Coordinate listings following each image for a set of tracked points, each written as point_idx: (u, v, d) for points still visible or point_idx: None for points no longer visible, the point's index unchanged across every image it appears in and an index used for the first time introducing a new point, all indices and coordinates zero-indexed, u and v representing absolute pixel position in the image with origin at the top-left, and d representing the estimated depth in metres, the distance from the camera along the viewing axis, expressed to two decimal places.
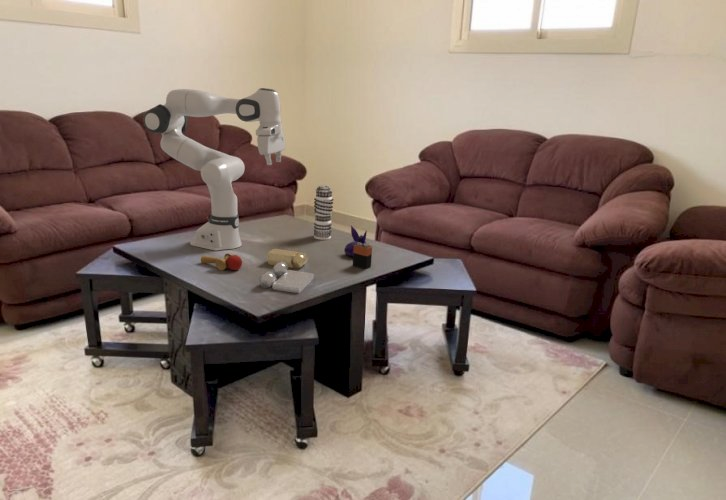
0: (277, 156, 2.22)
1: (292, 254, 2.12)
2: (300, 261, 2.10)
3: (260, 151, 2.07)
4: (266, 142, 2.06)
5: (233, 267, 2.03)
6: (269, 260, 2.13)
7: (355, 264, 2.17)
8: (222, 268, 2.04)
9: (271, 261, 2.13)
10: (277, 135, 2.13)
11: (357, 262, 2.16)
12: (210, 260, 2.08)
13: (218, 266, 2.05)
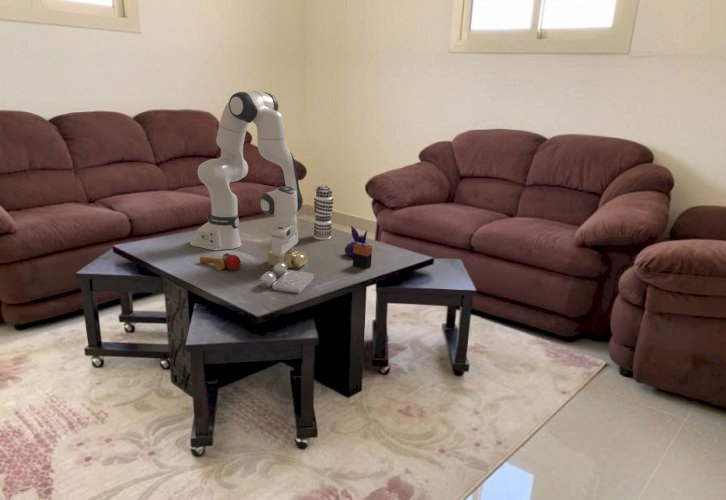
0: None
1: (292, 254, 2.12)
2: (300, 261, 2.10)
3: (273, 252, 2.04)
4: (280, 244, 2.03)
5: (231, 267, 2.03)
6: (269, 260, 2.13)
7: (355, 264, 2.17)
8: (220, 268, 2.04)
9: (271, 261, 2.13)
10: (291, 234, 2.10)
11: (357, 262, 2.16)
12: (209, 260, 2.08)
13: (216, 266, 2.05)
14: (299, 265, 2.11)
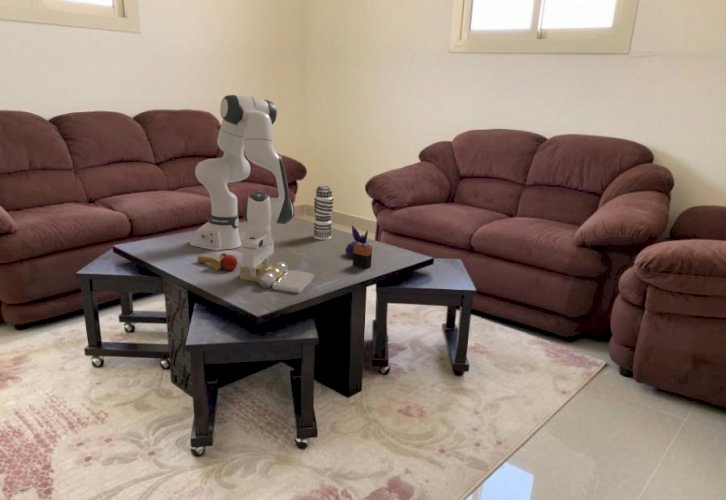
0: (263, 262, 2.02)
1: (266, 268, 1.95)
2: None
3: (244, 264, 1.87)
4: (252, 256, 1.85)
5: (228, 267, 2.03)
6: (241, 274, 1.96)
7: (355, 264, 2.17)
8: (217, 268, 2.05)
9: (244, 276, 1.96)
10: (265, 244, 1.93)
11: (357, 262, 2.16)
12: (206, 259, 2.08)
13: (213, 266, 2.05)
14: None
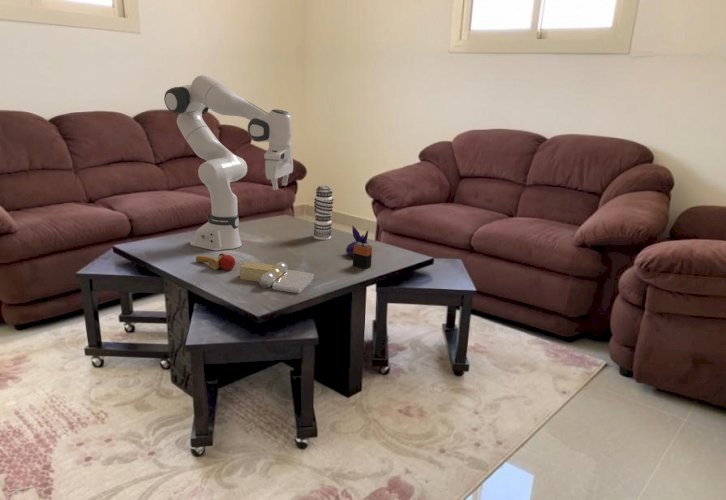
0: (283, 179, 2.13)
1: (266, 268, 1.95)
2: None
3: (267, 176, 1.98)
4: (274, 167, 1.97)
5: (225, 267, 2.03)
6: (241, 274, 1.96)
7: (355, 264, 2.17)
8: (215, 268, 2.05)
9: (244, 276, 1.96)
10: (286, 159, 2.04)
11: (357, 262, 2.16)
12: (204, 259, 2.09)
13: (211, 265, 2.05)
14: None
